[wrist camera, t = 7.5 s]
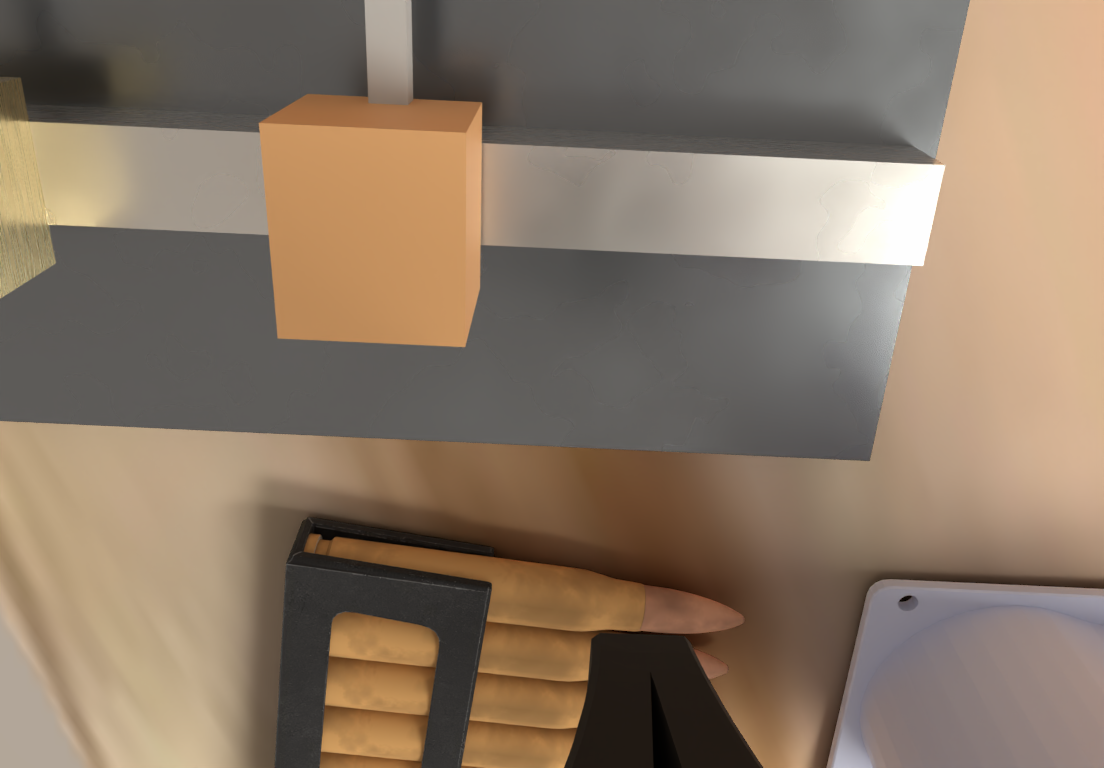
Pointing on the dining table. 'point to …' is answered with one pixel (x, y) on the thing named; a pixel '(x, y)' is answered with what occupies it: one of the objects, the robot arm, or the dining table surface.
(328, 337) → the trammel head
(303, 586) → the ammunition clip
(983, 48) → the dining table surface
